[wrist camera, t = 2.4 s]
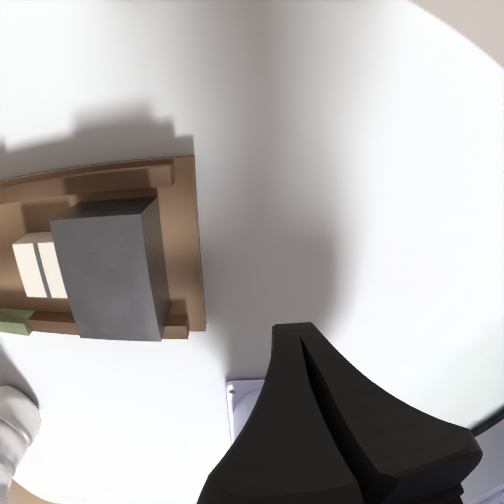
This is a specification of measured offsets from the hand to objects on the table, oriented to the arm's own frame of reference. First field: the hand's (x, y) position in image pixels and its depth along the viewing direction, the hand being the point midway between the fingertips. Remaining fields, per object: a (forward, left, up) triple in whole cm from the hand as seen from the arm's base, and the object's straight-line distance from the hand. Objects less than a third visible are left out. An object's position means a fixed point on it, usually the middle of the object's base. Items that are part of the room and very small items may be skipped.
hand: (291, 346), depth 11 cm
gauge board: (0, +14, -9) cm, 17 cm away
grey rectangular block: (0, +9, -8) cm, 12 cm away
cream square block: (0, +13, -8) cm, 16 cm away
